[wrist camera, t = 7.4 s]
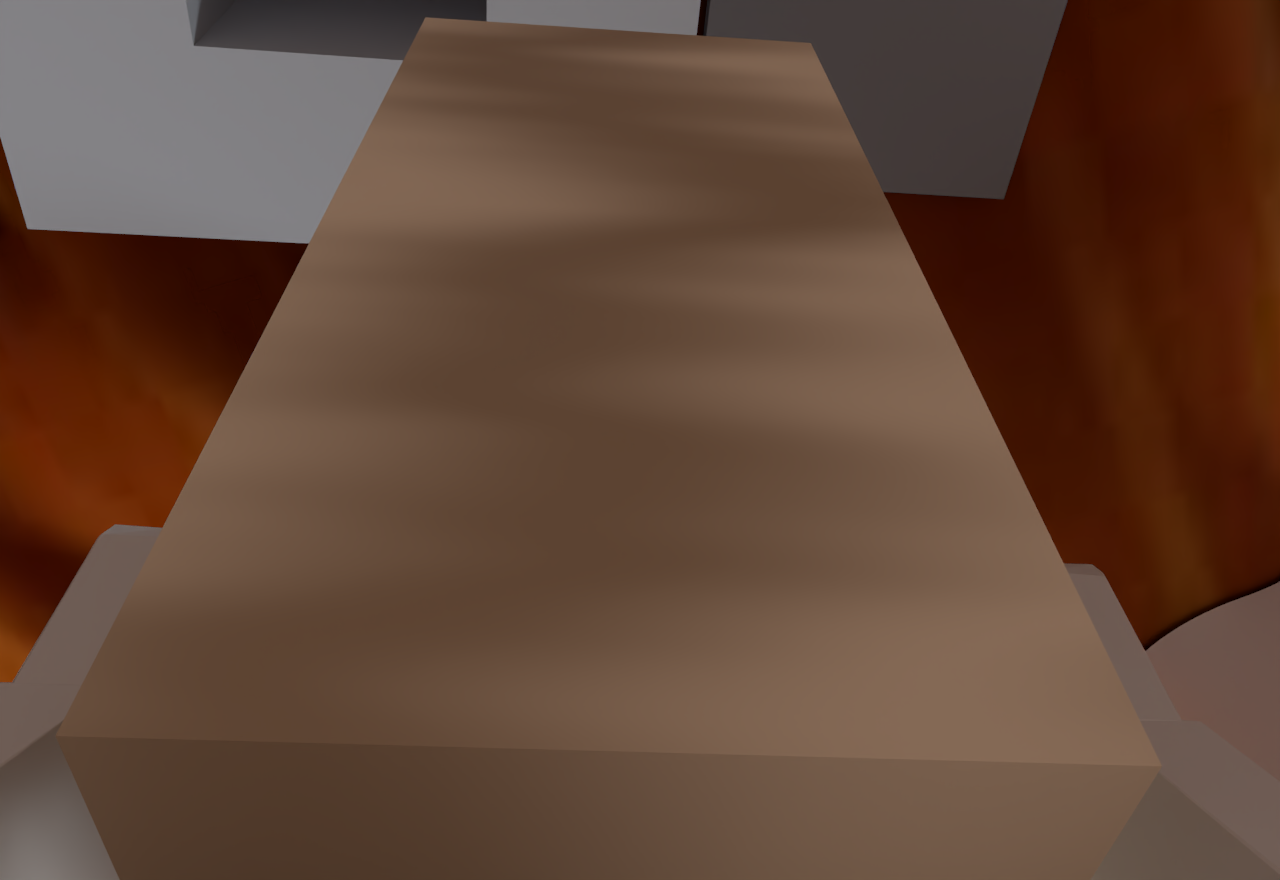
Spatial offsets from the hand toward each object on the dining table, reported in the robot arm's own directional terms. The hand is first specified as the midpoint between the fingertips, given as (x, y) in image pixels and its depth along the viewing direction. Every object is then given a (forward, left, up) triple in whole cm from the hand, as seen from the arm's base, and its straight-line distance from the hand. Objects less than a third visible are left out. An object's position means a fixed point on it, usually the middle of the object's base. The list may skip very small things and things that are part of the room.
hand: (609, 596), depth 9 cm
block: (0, 0, -8) cm, 8 cm away
